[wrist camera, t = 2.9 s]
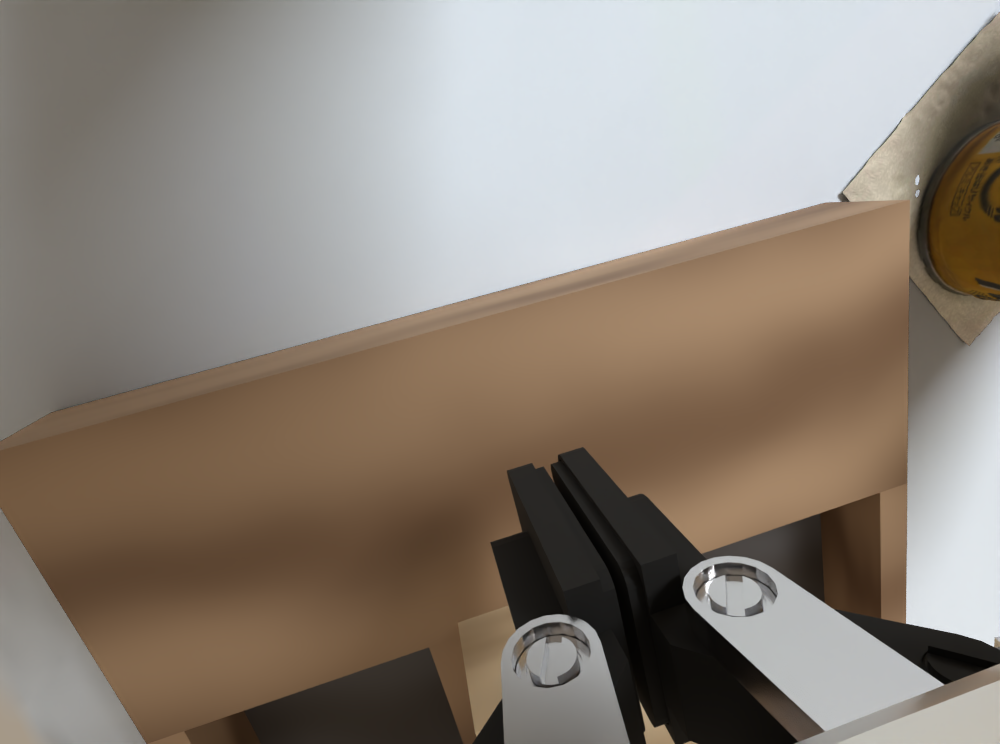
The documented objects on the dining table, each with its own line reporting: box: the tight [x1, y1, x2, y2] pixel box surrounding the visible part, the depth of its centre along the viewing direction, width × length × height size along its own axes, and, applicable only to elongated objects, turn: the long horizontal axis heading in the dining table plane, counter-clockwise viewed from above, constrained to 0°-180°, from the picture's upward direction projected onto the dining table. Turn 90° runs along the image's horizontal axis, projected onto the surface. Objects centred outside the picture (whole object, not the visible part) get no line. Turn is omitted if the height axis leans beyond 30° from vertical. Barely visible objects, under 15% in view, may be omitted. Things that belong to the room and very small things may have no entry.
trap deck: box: [0, 200, 910, 744], centre depth 18 cm, size 25×24×5 cm
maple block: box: [458, 606, 697, 744], centre depth 15 cm, size 6×6×4 cm
